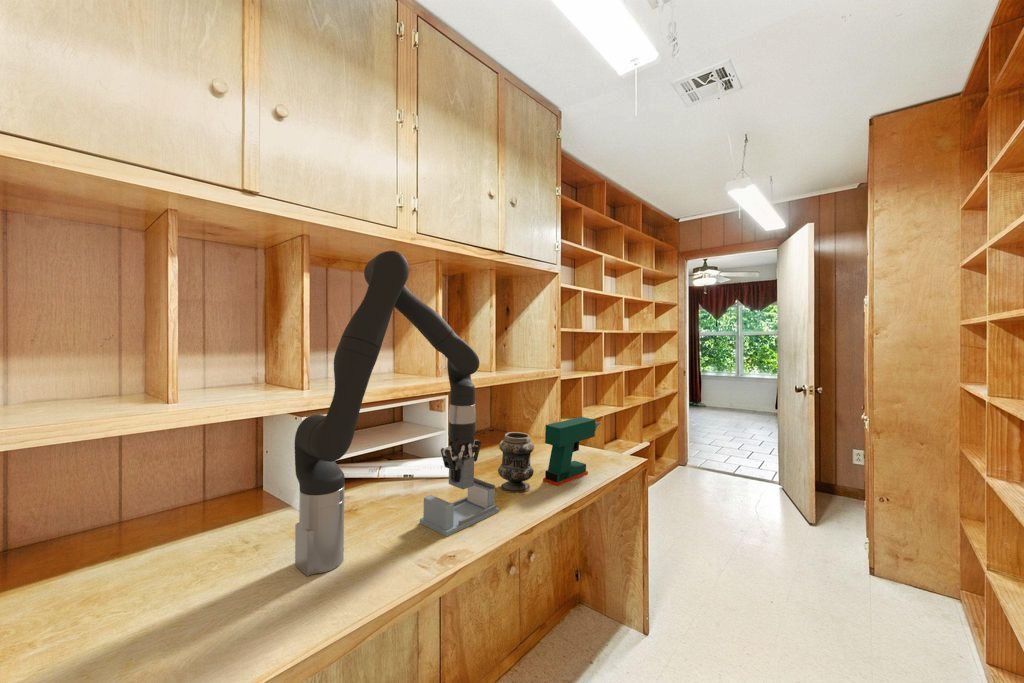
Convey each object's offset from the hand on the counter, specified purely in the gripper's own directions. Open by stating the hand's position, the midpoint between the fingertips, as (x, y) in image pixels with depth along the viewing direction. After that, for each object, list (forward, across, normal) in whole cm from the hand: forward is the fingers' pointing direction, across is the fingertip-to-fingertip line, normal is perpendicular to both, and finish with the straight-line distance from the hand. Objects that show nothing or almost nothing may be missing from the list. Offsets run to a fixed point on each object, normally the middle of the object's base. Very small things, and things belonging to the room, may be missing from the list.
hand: (461, 479), depth 120 cm
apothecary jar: (+11, -28, -3) cm, 30 cm away
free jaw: (+10, -8, 0) cm, 12 cm away
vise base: (+11, 0, 0) cm, 11 cm away
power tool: (+11, -55, +5) cm, 56 cm away
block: (+2, 0, 0) cm, 2 cm away
